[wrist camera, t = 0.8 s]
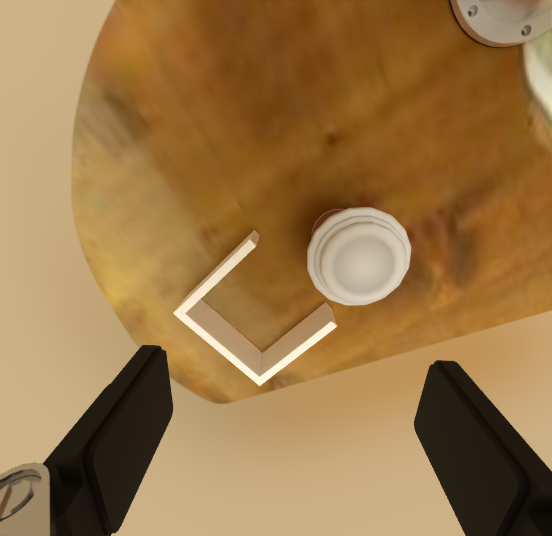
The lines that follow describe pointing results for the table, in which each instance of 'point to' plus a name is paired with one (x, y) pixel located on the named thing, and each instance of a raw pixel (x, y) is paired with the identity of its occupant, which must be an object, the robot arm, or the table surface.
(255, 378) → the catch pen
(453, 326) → the table surface
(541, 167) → the table surface
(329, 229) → the coffee cup
